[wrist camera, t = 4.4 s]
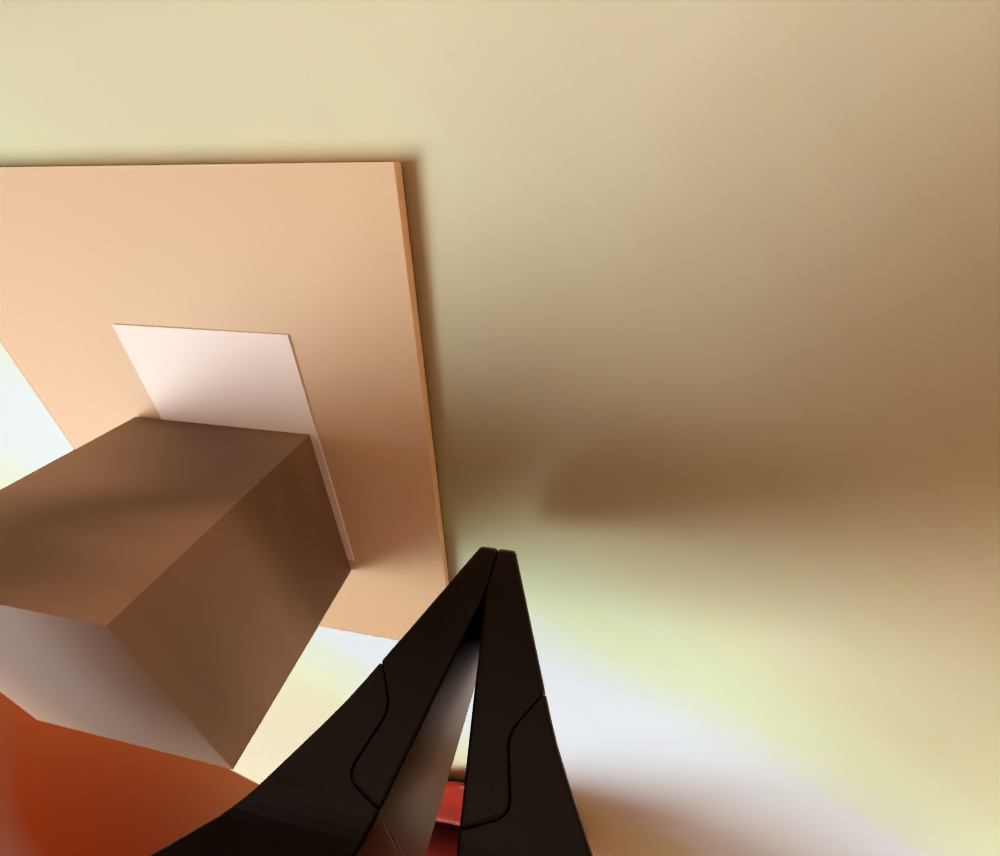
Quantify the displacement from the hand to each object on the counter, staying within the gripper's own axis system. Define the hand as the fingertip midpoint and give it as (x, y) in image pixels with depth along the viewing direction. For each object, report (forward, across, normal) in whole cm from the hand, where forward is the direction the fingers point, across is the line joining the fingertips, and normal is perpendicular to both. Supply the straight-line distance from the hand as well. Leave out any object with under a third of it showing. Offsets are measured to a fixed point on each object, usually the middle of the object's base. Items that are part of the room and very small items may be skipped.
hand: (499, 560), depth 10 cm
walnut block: (+1, +7, 0) cm, 7 cm away
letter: (+1, +7, -1) cm, 7 cm away
